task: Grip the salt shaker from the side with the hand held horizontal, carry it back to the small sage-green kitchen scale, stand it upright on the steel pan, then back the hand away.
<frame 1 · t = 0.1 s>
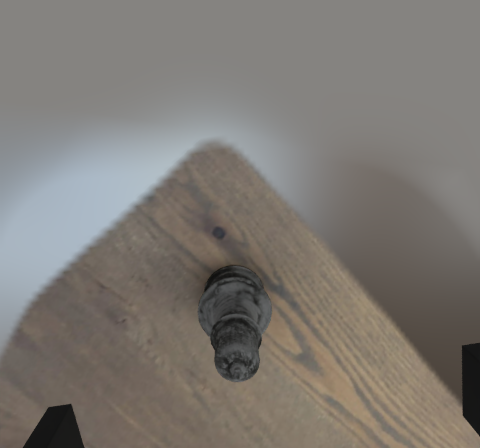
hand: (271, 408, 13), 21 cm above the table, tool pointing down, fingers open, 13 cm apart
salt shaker: (234, 292, 34), on the table
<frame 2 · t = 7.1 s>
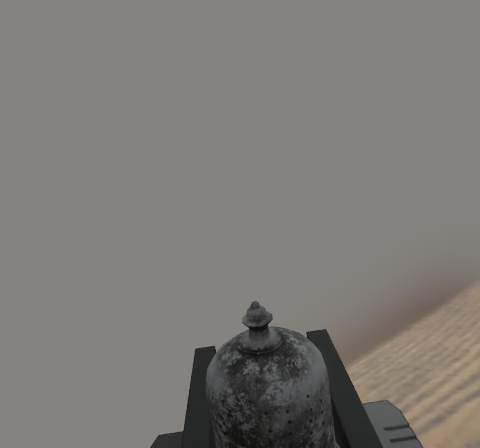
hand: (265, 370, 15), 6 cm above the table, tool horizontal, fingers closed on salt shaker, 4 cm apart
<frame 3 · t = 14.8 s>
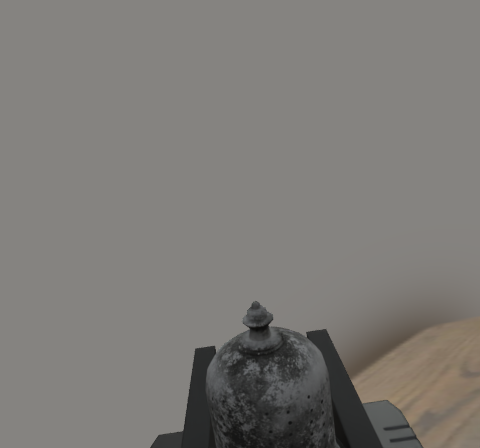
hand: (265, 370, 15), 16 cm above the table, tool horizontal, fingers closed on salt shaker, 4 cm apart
when the fingers open (10 cm above the table, at t = 16.6 s): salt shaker stays where it is, resting on scale.
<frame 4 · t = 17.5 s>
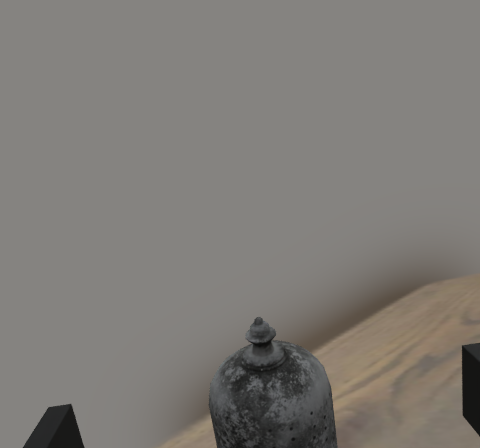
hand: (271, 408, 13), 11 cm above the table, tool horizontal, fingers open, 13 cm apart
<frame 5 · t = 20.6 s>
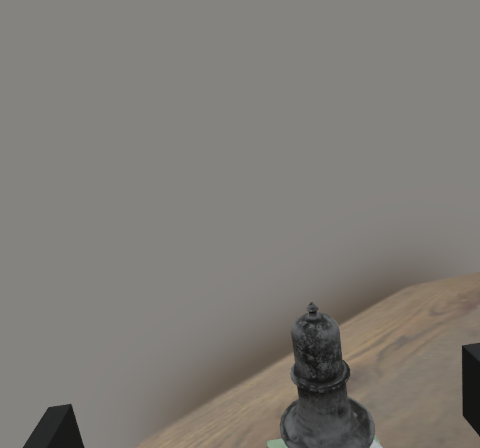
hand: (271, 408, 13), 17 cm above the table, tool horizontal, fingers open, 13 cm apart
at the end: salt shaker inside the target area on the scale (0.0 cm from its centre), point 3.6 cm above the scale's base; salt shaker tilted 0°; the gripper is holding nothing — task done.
